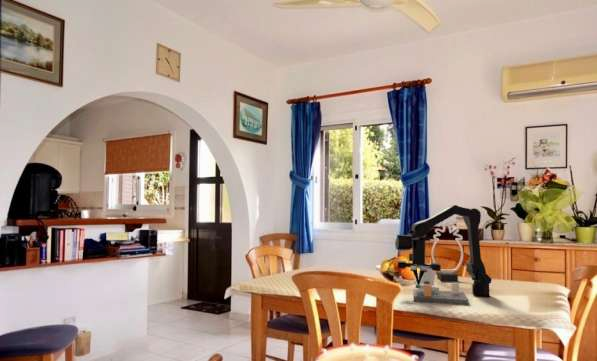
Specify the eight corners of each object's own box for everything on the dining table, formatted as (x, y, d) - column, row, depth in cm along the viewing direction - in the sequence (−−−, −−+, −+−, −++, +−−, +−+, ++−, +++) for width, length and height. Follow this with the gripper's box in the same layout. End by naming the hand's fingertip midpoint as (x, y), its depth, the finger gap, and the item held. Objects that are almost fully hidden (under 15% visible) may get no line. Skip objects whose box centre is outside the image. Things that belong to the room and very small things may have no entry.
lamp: (460, 278, 239) (459, 221, 240) (465, 281, 230) (464, 222, 231) (429, 278, 240) (429, 221, 241) (433, 281, 231) (432, 221, 233)
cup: (436, 292, 205) (436, 266, 205) (417, 291, 206) (416, 265, 207) (434, 288, 213) (434, 263, 214) (415, 287, 215) (415, 263, 216)
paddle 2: (458, 292, 193) (458, 281, 194) (459, 294, 191) (459, 282, 191) (451, 292, 194) (451, 281, 194) (451, 293, 191) (451, 282, 192)
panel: (463, 296, 195) (463, 282, 195) (468, 304, 180) (468, 289, 180) (413, 293, 201) (413, 280, 201) (413, 301, 185) (413, 287, 186)
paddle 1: (431, 295, 189) (431, 283, 189) (431, 296, 186) (431, 285, 186) (423, 294, 190) (423, 283, 190) (424, 296, 187) (423, 284, 187)
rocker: (438, 289, 196) (438, 285, 196) (438, 290, 192) (439, 287, 192) (415, 286, 199) (415, 283, 199) (415, 288, 195) (415, 284, 195)
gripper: (439, 249, 203) (438, 283, 202) (398, 247, 207) (397, 280, 207) (440, 252, 192) (440, 287, 191) (397, 249, 197) (397, 284, 196)
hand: (418, 284), depth 197 cm, fingers closed, pressing on rocker
